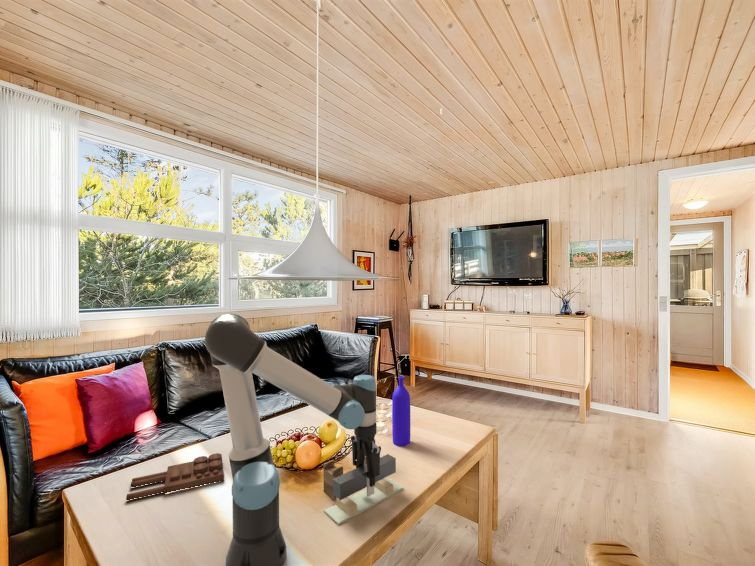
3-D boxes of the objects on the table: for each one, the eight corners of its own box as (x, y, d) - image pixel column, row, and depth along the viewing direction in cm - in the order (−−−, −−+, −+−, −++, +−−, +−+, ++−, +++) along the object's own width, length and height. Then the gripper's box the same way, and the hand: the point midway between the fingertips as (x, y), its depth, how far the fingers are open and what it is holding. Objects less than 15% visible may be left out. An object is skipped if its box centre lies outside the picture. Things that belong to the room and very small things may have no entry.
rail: (340, 500, 109) (340, 484, 109) (333, 494, 112) (332, 478, 112) (395, 472, 125) (395, 458, 125) (388, 467, 128) (387, 454, 128)
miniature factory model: (223, 469, 131) (125, 491, 117) (224, 482, 131) (125, 505, 117) (221, 450, 145) (133, 468, 131) (221, 462, 145) (133, 481, 131)
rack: (333, 499, 119) (333, 470, 119) (323, 491, 124) (323, 463, 124) (378, 477, 132) (377, 451, 132) (367, 470, 137) (367, 445, 137)
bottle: (389, 440, 163) (388, 375, 163) (404, 437, 166) (404, 373, 166) (397, 448, 155) (397, 380, 155) (413, 444, 159) (413, 378, 159)
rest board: (338, 525, 107) (338, 515, 107) (323, 512, 113) (323, 502, 113) (403, 488, 125) (403, 480, 125) (388, 479, 131) (388, 471, 131)
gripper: (390, 426, 115) (391, 498, 115) (358, 412, 128) (359, 476, 128) (373, 433, 110) (374, 508, 110) (341, 417, 123) (342, 484, 123)
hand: (366, 491), depth 119 cm, fingers closed on rail, 4 cm apart
